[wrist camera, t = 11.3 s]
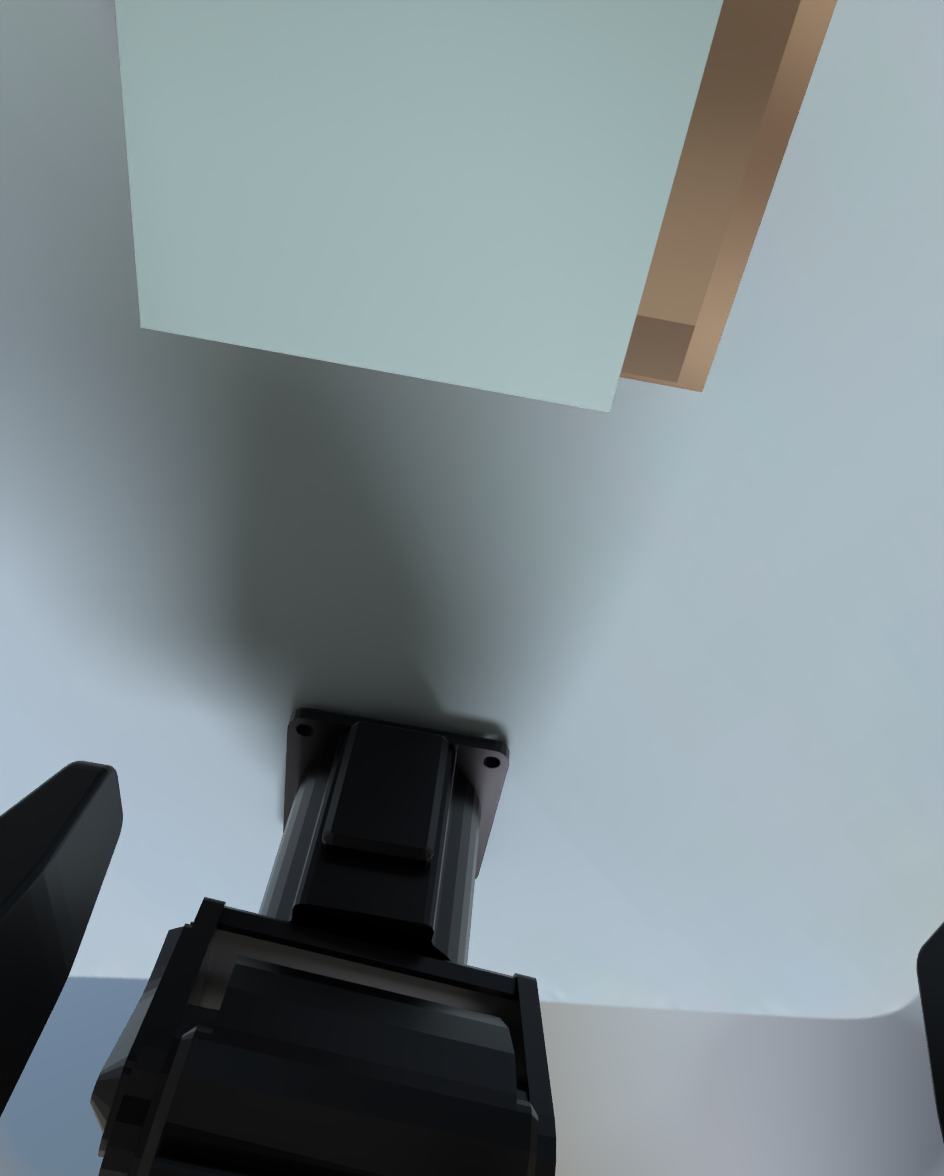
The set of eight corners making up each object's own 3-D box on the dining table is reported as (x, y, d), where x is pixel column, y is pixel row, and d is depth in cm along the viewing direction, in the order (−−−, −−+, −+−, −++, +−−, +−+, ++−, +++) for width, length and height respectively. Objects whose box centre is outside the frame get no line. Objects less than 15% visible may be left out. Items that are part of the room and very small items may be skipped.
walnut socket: (697, 376, 18) (722, 456, 15) (180, 280, 18) (108, 344, 15) (953, -382, 12) (1081, -489, 9) (142, -556, 11) (1, -725, 8)
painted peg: (587, 196, 16) (610, 412, 8) (336, 149, 15) (141, 327, 8) (659, -130, 13) (784, -224, 6) (353, -191, 13) (84, -367, 6)
